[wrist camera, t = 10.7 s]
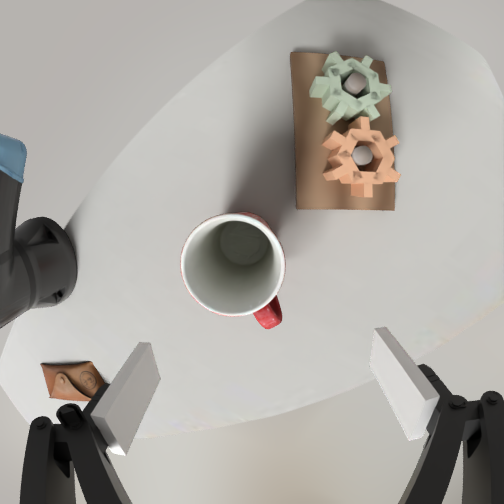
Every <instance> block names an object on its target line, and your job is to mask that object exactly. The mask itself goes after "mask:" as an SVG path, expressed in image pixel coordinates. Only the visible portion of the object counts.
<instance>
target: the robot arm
mask: <svg viewBox="0 0 504 504" xmlns="http://www.w3.org/2000/svg"><path fill="white" fill-rule="evenodd" d="M26 156H27V151H26V147H25V145H24V144H23V143H22V142H21V141H20V140H17V139H15V138H12V137H9V136H6V135H3V134H0V328H2V327H3V326H5V325H6V324H8V323H9V322H11V321H12V320H14V319H15V318H17V317H18V316H20V315H21V314H23V313H24V312H26V311H27V310H29V309H33V308H43V307H52V306H55V305H58V304H59V303H61V302H62V301H64V300H66V299H67V298H68V297H69V296H70V295H71V293H72V291H73V289H74V286H75V283H76V276H77V266H76V259H75V254H74V250H73V247H72V245H71V242H70V240H69V238H68V236H67V235H66V233H65V232H64V230H63V229H62V228H61V227H60V226H59V225H58V224H57V223H56V222H55V221H53V220H51V219H49V218H47V217H37V218H33V219H29V220H27V221H25V222H24V223H22V224H21V225H20V226H18V227H17V228H16V229H15V226H16V217H17V210H18V203H19V197H20V192H21V186H22V183H23V181H24V179H23V173H24V167H25V161H26ZM369 367H370V369H371V370H372V372H373V374H374V376H375V378H376V379H377V381H378V383H379V385H380V387H381V389H382V390H383V392H384V394H385V396H386V398H387V400H388V402H389V404H390V405H391V407H392V409H393V411H394V413H395V415H396V417H397V419H398V421H399V423H400V425H401V426H402V428H403V430H404V432H405V434H406V436H407V438H408V440H409V441H411V440H414V439H418V438H420V437H423V435H424V433H425V431H426V429H427V431H428V432H429V436H428V438H427V441H426V442H425V444H424V446H423V448H424V449H423V451H422V454H421V457H420V459H419V461H418V463H417V466H416V468H415V470H414V473H413V475H412V477H411V479H410V481H409V483H408V485H407V487H406V490H405V491H404V494H403V495H402V497H401V499H400V501H399V503H398V504H442V501H443V499H444V496H445V494H446V491H447V488H448V485H449V482H450V479H451V476H452V473H453V470H454V467H455V463H456V460H457V456H458V453H459V449H460V445H461V441H463V494H462V504H504V400H503V397H502V395H500V394H499V393H498V392H495V391H487V392H485V393H484V394H483V395H482V397H481V399H480V400H477V401H467V400H466V399H465V398H464V397H462V396H459V395H452V393H451V392H450V391H449V390H448V389H447V387H446V386H445V385H444V383H443V382H442V381H441V380H440V378H439V377H438V376H437V375H436V374H435V372H434V371H433V370H432V369H431V368H430V367H428V366H427V365H425V364H421V365H418V366H417V365H416V364H415V362H414V361H413V360H412V359H411V357H410V356H409V355H408V354H407V352H406V351H405V350H404V349H403V347H402V346H401V345H400V344H399V342H398V341H397V340H396V339H395V337H394V336H393V335H392V334H391V332H390V331H389V330H388V329H387V328H386V327H382V328H375V329H374V336H373V344H372V351H371V358H370V364H369ZM160 379H161V378H160V375H159V372H158V368H157V365H156V361H155V358H154V354H153V350H152V347H151V343H142V342H139V343H138V345H137V346H136V348H135V349H134V350H133V352H132V353H131V355H130V356H129V358H128V359H127V361H126V362H125V363H124V365H123V366H122V368H121V369H120V371H119V372H118V374H117V375H116V377H115V378H114V380H113V381H112V383H111V384H107V383H105V384H104V385H102V386H101V387H100V388H98V390H97V391H96V393H95V394H94V396H93V397H92V398H91V400H90V401H89V403H88V404H87V406H86V407H85V408H84V410H83V411H81V409H80V407H79V406H78V405H76V404H72V403H70V404H65V405H63V406H61V407H60V408H59V409H58V411H57V413H56V416H57V418H58V419H59V421H60V423H61V424H53V423H52V421H51V420H50V419H49V418H48V417H45V416H41V417H38V418H36V419H34V420H33V421H32V423H31V425H30V430H29V435H28V440H27V445H26V451H25V458H24V464H23V472H22V481H21V492H20V504H76V498H75V480H74V468H75V471H76V474H77V477H78V480H79V483H80V486H81V489H82V492H83V494H84V497H85V500H86V502H87V504H132V502H131V500H130V499H129V497H128V495H127V493H126V491H125V490H124V488H123V486H122V484H121V482H120V480H119V478H118V476H117V474H116V472H115V469H114V468H113V466H112V463H111V461H110V459H109V456H108V454H107V453H106V449H107V447H108V446H109V448H110V450H111V451H112V452H113V453H116V454H120V455H125V456H126V454H127V452H128V450H129V448H130V445H131V443H132V441H133V439H134V436H135V434H136V432H137V430H138V427H139V425H140V423H141V421H142V418H143V416H144V414H145V412H146V410H147V407H148V405H149V403H150V401H151V399H152V396H153V394H154V392H155V390H156V388H157V386H158V383H159V381H160Z"/></svg>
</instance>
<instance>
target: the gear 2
mask: <svg viewBox="0 0 504 504" xmlns="http://www.w3.org/2000/svg"><path fill="white" fill-rule="evenodd" d="M397 144H399V141H398V140H397V138H396V136H392V137H389V138H386V139H384V137H383V135H382V134H381V132H380V131H375V130H370V125H369V117H361V116H360V117H359V118H358V119H356V120H355V121H353V122H352V123H351V124H349V125H348V131H346V132H345V133H343V134H342V135H341V134H339V133H338V132H336V131H333V132H332V133H330V134H329V135H328V136H327V137H325V138H324V140H323V142H322V144H321V145H323V146H324V147H326V148H328V149H330V150H331V153H330V155H329V157H328V159H327V160H328V161H329V163H330V164H331V166H332V168H331V169H329V170H328V171H326V172H324V173H323V176H324V177H325V179H326V181H329V180H337V179H339V180H340V182H341V183H343V184H351V196H358V197H373V189H372V184H383V182H398V180H399V178H400V176H401V174H399V173H398V172H397V171H395V170H394V169H392V168H391V166H392V164H393V162H394V160H395V157H394V155H393V153H392V151H391V150H390V148H392V147H394V146H395V145H397ZM359 146H367V147H368V148H370V150H371V151H372V155H373V157H372V160H371V162H370V163H368V164H366V166H365V168H364V170H363V171H359V169H358V168H357V166H356V164H355V162H354V161H353V159H352V157H351V153H352V152H353V150H354V148H355V147H359Z"/></svg>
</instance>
